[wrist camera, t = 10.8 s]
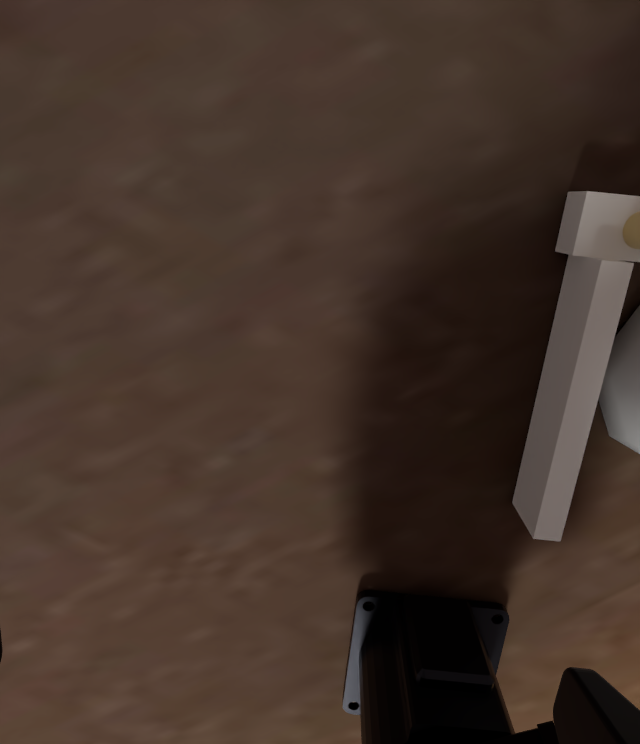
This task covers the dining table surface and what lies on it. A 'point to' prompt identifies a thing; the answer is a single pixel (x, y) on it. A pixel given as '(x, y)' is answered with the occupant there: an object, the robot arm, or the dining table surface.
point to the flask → (623, 386)
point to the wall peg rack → (576, 352)
